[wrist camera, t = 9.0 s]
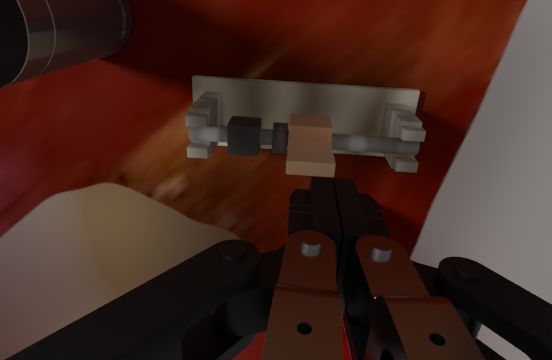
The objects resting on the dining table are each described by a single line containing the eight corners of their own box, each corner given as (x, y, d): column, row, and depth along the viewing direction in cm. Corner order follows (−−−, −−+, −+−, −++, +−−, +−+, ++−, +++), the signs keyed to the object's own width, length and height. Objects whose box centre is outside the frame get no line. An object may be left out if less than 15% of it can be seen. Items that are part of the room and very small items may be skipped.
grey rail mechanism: (197, 140, 46) (173, 173, 37) (194, 75, 42) (167, 94, 34) (403, 154, 45) (427, 191, 37) (417, 89, 42) (448, 112, 33)
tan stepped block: (287, 149, 39) (284, 188, 31) (290, 113, 38) (287, 144, 29) (325, 152, 39) (331, 192, 31) (329, 115, 37) (337, 148, 29)
